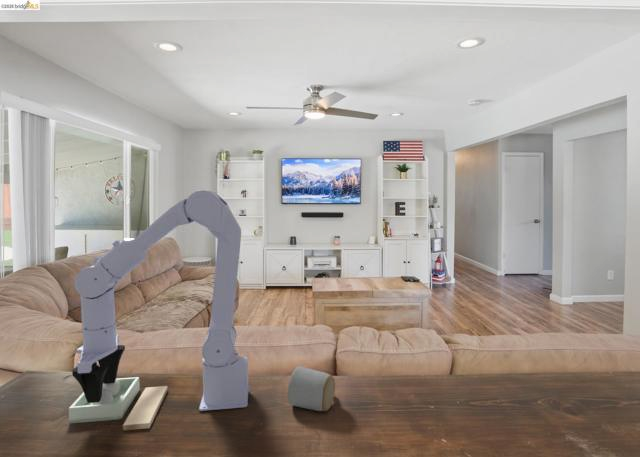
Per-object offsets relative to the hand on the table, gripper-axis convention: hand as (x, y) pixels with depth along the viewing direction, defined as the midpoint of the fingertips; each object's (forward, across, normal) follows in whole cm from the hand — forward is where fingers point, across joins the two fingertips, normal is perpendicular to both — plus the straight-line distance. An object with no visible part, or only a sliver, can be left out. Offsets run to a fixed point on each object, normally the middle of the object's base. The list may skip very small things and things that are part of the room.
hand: (102, 391), depth 75 cm
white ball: (+2, -5, 0) cm, 5 cm away
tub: (+4, -2, 0) cm, 4 cm away
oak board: (+4, 0, +9) cm, 9 cm away
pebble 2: (+2, 0, 0) cm, 2 cm away
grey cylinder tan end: (+4, +4, +42) cm, 42 cm away
